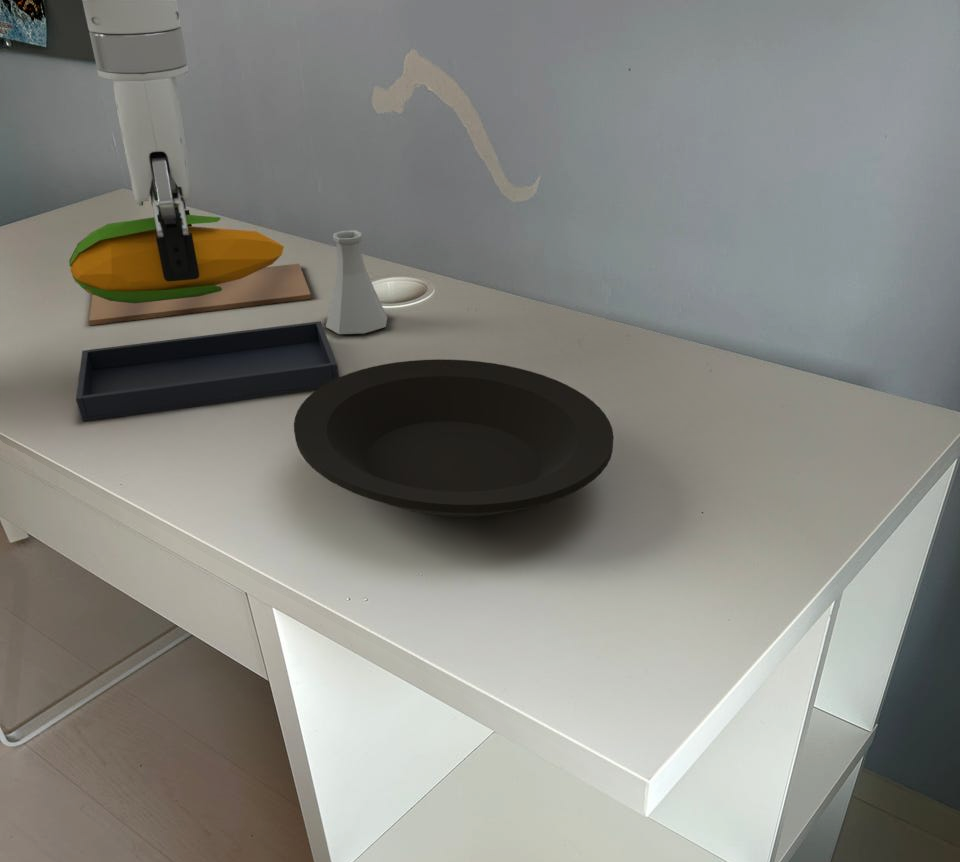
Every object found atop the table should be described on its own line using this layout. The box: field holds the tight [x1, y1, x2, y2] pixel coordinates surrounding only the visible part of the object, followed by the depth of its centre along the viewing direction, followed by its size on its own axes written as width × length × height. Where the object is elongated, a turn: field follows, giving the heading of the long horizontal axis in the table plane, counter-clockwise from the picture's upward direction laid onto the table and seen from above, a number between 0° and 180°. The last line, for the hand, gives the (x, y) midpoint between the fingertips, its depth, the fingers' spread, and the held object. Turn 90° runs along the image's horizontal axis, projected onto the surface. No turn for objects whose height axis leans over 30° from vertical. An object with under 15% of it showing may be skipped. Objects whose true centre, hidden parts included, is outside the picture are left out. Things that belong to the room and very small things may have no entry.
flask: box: [325, 229, 388, 335], centre depth 110 cm, size 7×7×10 cm
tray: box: [75, 320, 340, 423], centre depth 102 cm, size 25×12×2 cm, turn 105°
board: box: [88, 263, 312, 326], centre depth 122 cm, size 26×12×1 cm, turn 105°
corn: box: [68, 214, 285, 303], centre depth 94 cm, size 7×8×20 cm
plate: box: [293, 358, 614, 518], centre depth 82 cm, size 28×24×6 cm
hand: (181, 264), depth 95 cm, fingers closed on corn, 6 cm apart
